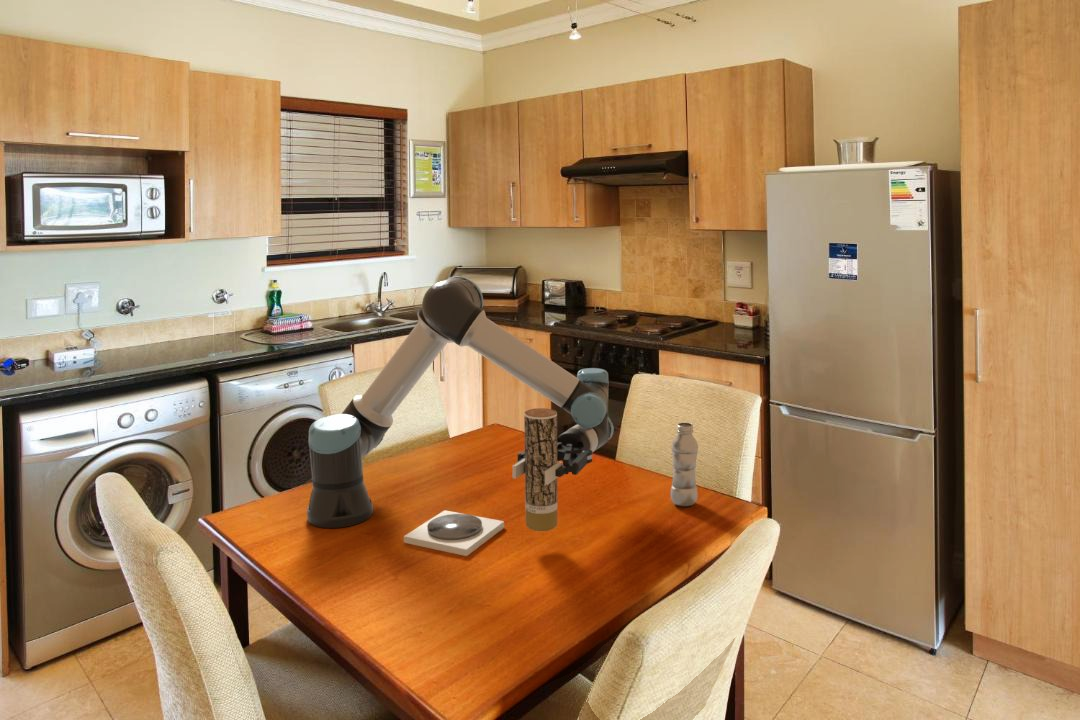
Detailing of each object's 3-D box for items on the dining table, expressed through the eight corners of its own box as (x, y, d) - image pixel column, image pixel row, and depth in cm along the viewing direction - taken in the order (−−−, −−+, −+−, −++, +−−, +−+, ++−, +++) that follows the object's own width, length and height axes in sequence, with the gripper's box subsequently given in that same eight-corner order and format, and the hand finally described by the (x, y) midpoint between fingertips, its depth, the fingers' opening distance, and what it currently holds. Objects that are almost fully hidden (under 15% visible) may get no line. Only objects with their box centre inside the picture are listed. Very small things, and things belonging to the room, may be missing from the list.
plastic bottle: (700, 501, 186) (702, 422, 182) (693, 511, 180) (695, 429, 176) (674, 497, 189) (675, 419, 185) (666, 507, 183) (668, 426, 179)
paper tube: (554, 533, 158) (554, 417, 154) (522, 531, 160) (521, 416, 155) (560, 520, 165) (559, 409, 160) (529, 518, 166) (528, 407, 161)
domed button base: (404, 542, 166) (403, 531, 166) (445, 516, 180) (444, 506, 180) (466, 556, 159) (466, 545, 158) (504, 527, 173) (503, 517, 172)
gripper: (615, 465, 172) (574, 500, 152) (537, 454, 181) (488, 485, 161) (616, 433, 171) (574, 464, 150) (537, 423, 179) (488, 451, 159)
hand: (530, 475), depth 156 cm, fingers closed on paper tube, 7 cm apart
